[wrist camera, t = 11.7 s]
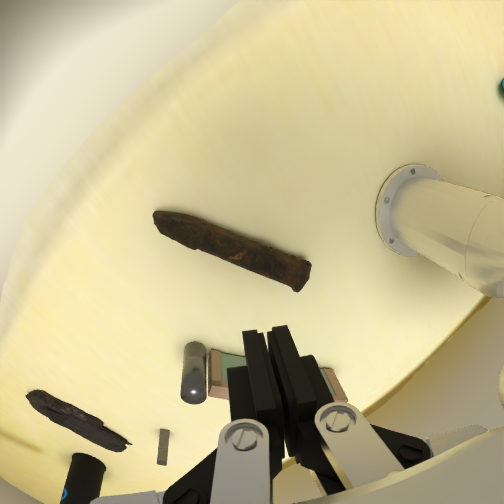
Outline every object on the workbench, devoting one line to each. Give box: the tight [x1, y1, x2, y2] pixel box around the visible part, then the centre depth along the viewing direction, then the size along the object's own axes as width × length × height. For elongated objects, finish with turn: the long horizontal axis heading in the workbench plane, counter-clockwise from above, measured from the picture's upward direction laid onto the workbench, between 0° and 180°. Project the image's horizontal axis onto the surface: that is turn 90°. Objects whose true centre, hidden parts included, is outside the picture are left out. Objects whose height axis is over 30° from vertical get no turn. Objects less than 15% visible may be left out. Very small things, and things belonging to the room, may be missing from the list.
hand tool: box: [153, 211, 312, 292], centre depth 34 cm, size 19×4×5 cm, turn 62°
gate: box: [208, 350, 348, 403], centre depth 39 cm, size 2×19×7 cm, turn 72°
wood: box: [26, 390, 132, 452], centre depth 43 cm, size 22×7×3 cm, turn 51°
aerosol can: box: [60, 453, 106, 504], centre depth 39 cm, size 8×8×20 cm
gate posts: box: [157, 342, 207, 466], centre depth 39 cm, size 3×23×9 cm, turn 159°
